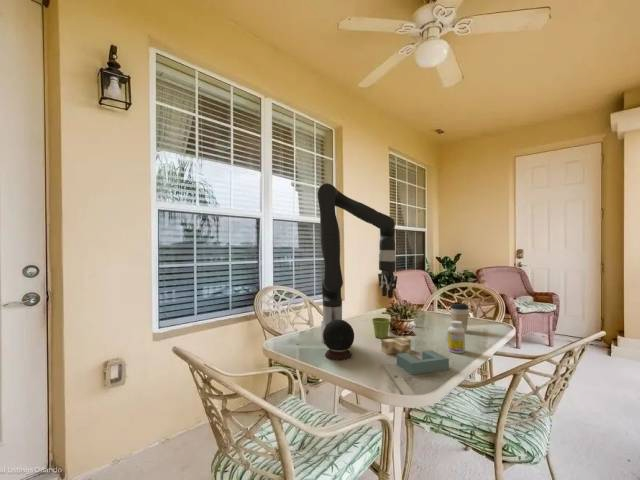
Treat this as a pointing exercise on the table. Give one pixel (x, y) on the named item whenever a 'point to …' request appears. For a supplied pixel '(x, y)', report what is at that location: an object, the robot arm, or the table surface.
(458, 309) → the coffee cup
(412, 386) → the table surface
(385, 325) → the plant pot
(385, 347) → the t block
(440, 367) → the dock
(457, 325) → the supplement bottle
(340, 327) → the black ball on stand
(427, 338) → the table surface
